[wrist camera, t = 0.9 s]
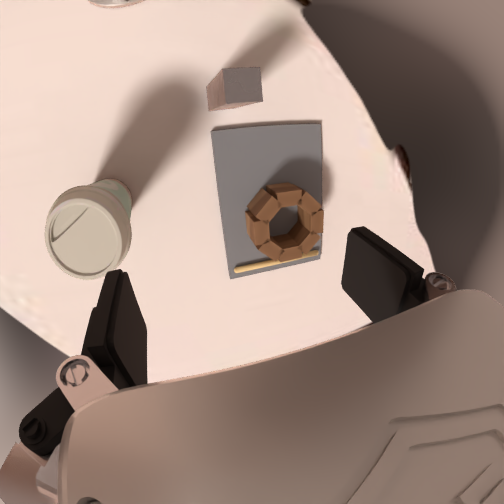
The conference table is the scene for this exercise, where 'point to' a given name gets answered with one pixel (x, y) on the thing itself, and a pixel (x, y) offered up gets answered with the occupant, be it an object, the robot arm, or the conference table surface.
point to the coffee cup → (90, 229)
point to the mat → (264, 185)
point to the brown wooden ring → (299, 235)
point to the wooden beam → (234, 88)
